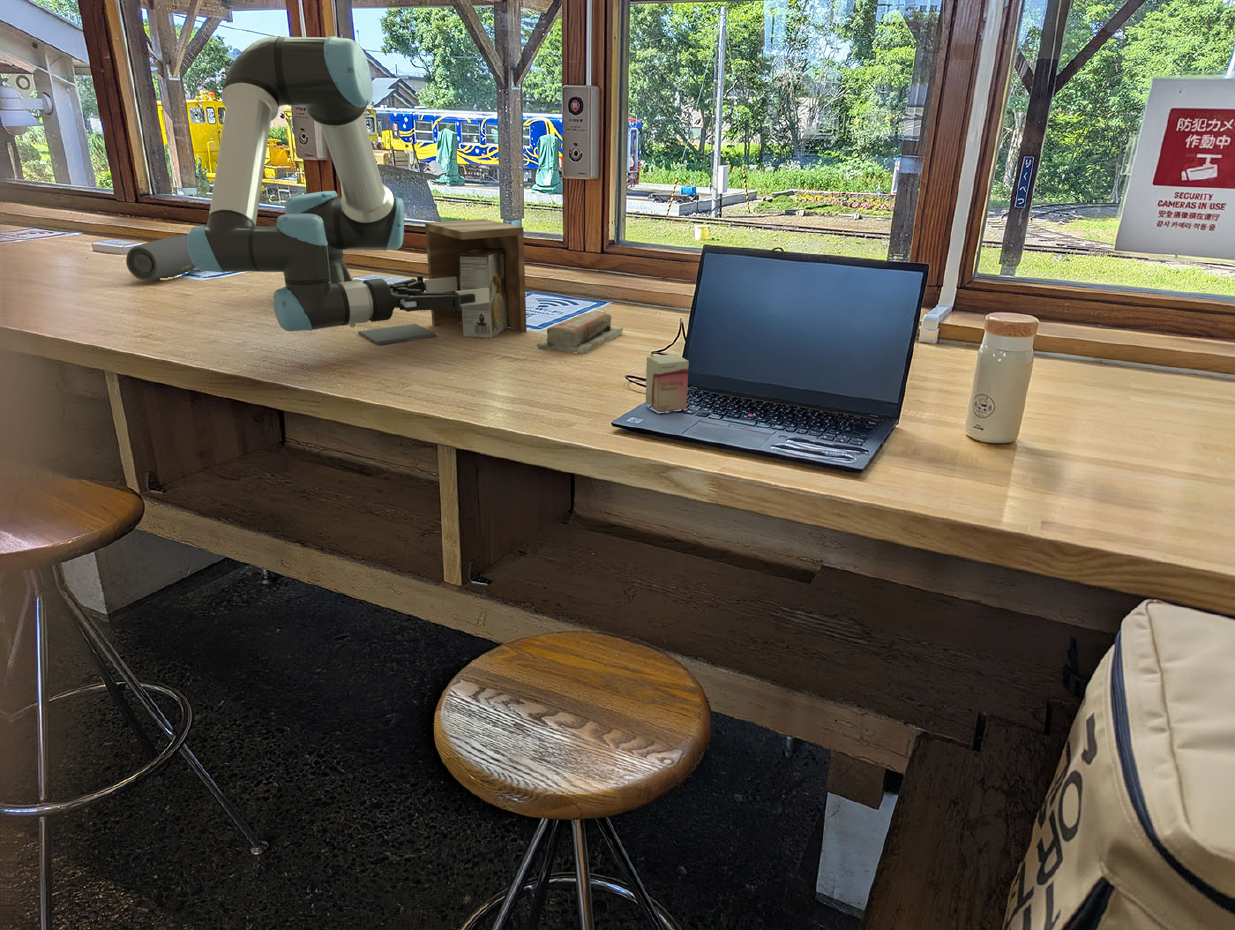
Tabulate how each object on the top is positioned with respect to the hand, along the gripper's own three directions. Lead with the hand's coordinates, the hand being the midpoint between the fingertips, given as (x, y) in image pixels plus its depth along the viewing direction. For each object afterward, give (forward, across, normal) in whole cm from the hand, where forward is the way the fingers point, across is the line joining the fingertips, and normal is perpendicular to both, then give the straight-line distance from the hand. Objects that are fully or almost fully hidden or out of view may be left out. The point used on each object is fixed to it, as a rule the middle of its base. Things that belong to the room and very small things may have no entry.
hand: (471, 289), depth 168 cm
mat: (-13, -8, -9) cm, 17 cm away
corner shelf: (+3, -4, -9) cm, 10 cm away
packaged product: (+15, +16, -10) cm, 24 cm away
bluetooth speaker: (-37, -98, -9) cm, 105 cm away
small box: (+3, +57, -9) cm, 58 cm away
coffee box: (+3, -1, -9) cm, 10 cm away
